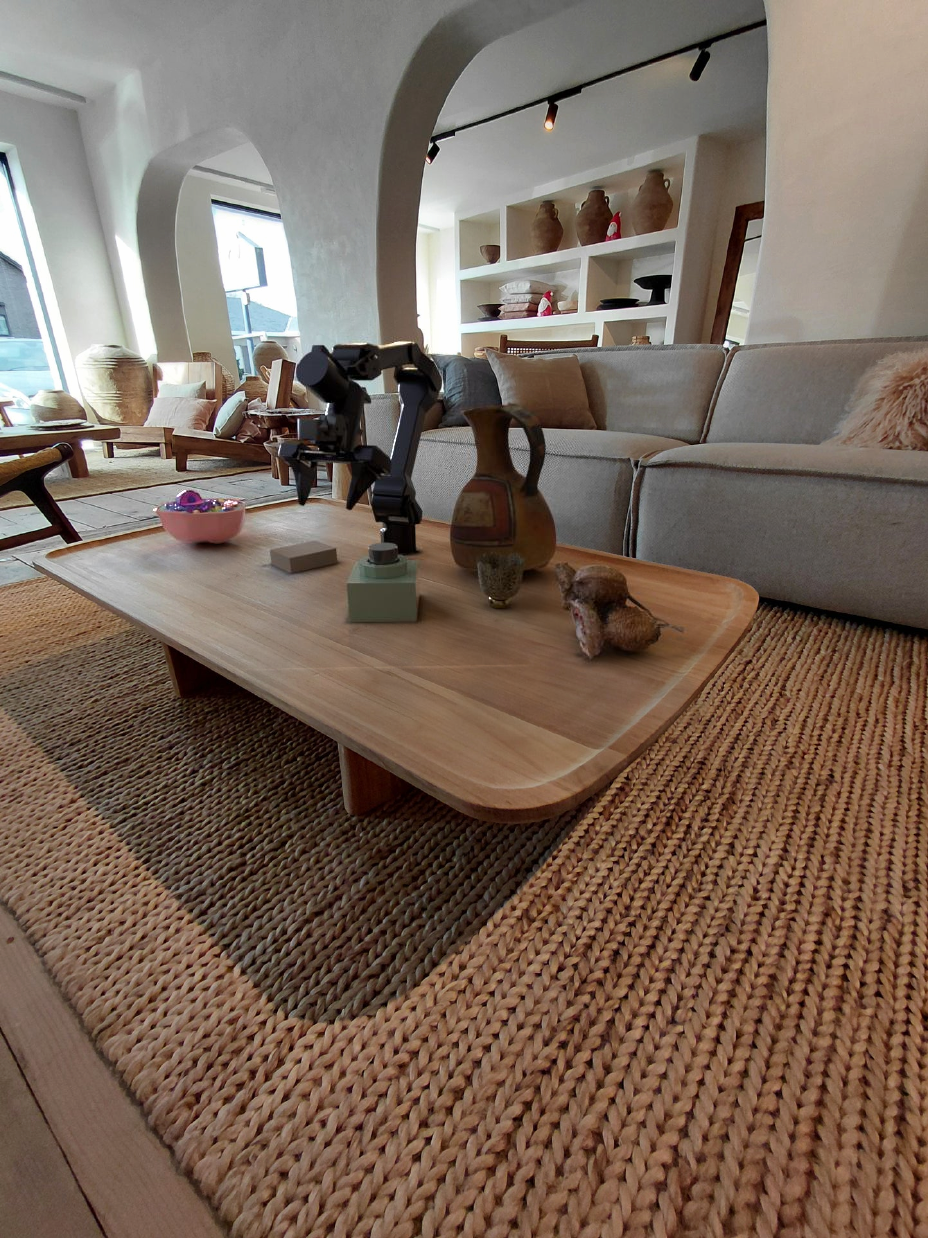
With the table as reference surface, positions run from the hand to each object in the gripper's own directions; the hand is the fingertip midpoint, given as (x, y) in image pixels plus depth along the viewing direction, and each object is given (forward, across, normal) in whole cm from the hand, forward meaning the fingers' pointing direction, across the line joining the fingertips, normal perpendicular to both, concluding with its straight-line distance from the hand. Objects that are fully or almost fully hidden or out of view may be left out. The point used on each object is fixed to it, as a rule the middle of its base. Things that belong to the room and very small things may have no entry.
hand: (324, 507), depth 95 cm
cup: (+11, +30, +9) cm, 33 cm away
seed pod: (+15, +48, +2) cm, 50 cm away
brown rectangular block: (+8, -13, +16) cm, 22 cm away
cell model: (+5, -42, +20) cm, 47 cm away
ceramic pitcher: (+2, +24, +25) cm, 35 cm away
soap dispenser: (+15, +14, +2) cm, 20 cm away
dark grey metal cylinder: (+8, +14, -1) cm, 16 cm away
